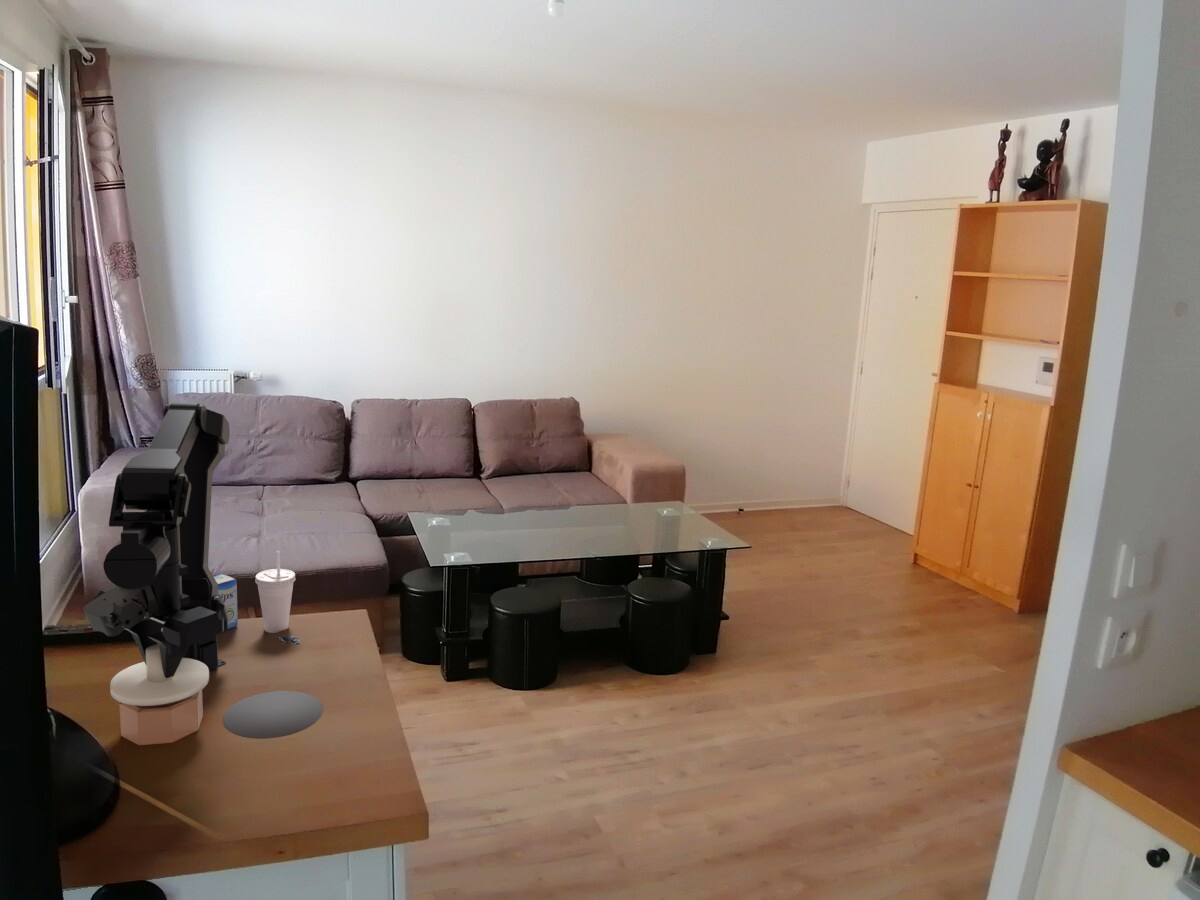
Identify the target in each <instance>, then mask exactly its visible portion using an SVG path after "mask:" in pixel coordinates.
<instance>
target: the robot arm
mask: <svg viewBox="0 0 1200 900" xmlns="http://www.w3.org/2000/svg"><path fill="white" fill-rule="evenodd" d="M230 429H231V428H230V423H229V421H228V420H227V419H226V416H225V415H224V414H222V413H219V412H216V411H213V410H211V409H208V408H207V407H206V406H205V405H204V404H200V403H199V402H198V403H197V402H171V403H166V404H165V406H164V409H163V419H162V421H161V423H160V424H159V427H158V429H157V431H156V433H155V435H154V436H153V439H151V440H152V441H151V442H150V445H149V446H148V448H147V450H146V451H145V452H143V453H141V454H138V455H136V456H133V457H131V458H130V459H129V460H128V461H127V463H126V464H125V466H124V467H123V468H122V470H121V472H120V473H118V474H117V476H116V479H115V484H114V489H113V496H112V502H111V508H110V515H109V519H108V526H109V527H113V528H114V527H118V528H119V527H122V532H121V533H120V540H119V541H118V542H117V543H116V544H114V546H113V547H112V548H110V550H109V551H108V553H106V555H105V558H104V561H103V571H104V574H105V576H106V578H107V579H108V580H109V581H110V582H111V583H112V584H114V585H113V586H111V587H107V588H104V589H100V590H99V592H98V593H97V595H96V596H95V597H94V599H93V600H91V601H90V602H88V603H87V604H86V605H84V607H83V612H84V613H85V616H86V617H87V620H88V621H89V623H90V625H91V627H92V629H93V630H94V631H95V632H101V633H103V634H105V635H106V636H107V637H115V636H118V635H120V634H121V633H123V632H124V630H126V631H128V632H129V633H130V634H131V635H132V638H133V640H134V641H135V643H136V646H137V648H138V651H139V652H140V655H141V658H142V659H143V662H145V664H146V649H147V648H148V647H150V646H152V645H155V644H159V648H160V655H161V661H162V668H163V672H164V676H165V678H170V677H172V676H174V674H175V672H176V670H177V668H178V666H179V664H180V662H181V660H182V658H189V659H194V660H197V661H200V662H202V663H204V664H205V665H206V666H207V667H208V669H209V672H210V671H212V670H215V669H217V668H220V667H222V666H224V665H226V664H227V661H226V660H223V659H221V658H219V650H218V641H217V638H218V637H217V636H220V635H221V634H223V633H224V631H228V630H229V629H228V616H227V610H226V607H225V605H224V602H223V600H222V598H221V596H218V583H217V582H216V580H215V578H214V577H213V576H214V575H213V573H212V572H211V569H209V553H210V552H209V551H210V529H211V510H212V509H211V508H212V492H213V491H212V489H213V488H212V487H213V473H214V471H215V469H216V468H217V467H218V466H219V464H220V463H221V461H222V460H223V459H224V457H225V453H226V445H228V444H229V443H230V436H231V435H230V434H231V433H230ZM124 508H125V510H127V511H124Z"/></svg>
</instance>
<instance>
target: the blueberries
mask: <svg viewBox="0 0 1200 900" xmlns="http://www.w3.org/2000/svg"><path fill="white" fill-rule="evenodd" d="M274 639H276V640H277V641H278V642H281V644H283V645H285V644H294V645H296V646H298V645H300V638H299V637H297V636H294V635H286V636H283V637H280V636H276V637H275V638H274Z"/></svg>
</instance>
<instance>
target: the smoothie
mask: <svg viewBox="0 0 1200 900" xmlns="http://www.w3.org/2000/svg"><path fill="white" fill-rule="evenodd" d="M275 554H276V568H272V569H265V570H262V571H260V572H258V573H257V574H256V575H255V580H254V581H255V584H256V585H257V589H258V595H259V601H260V602H259V603H260V608H261V614H262V621H263V625H264V631H265V632H266V633H269V634H277V633H280V632H282V631H285V630H287V629H289V622H290V621H289V620H290V613H291V605H292V596H293V587H294V582H295V581H296V573H295V572H294V571H293V570H291V569H286V568H281V551H280V550H276V551H275Z"/></svg>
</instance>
